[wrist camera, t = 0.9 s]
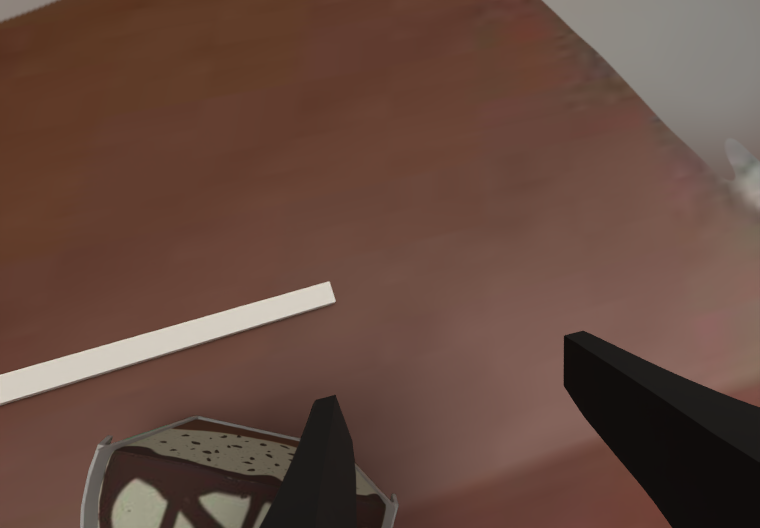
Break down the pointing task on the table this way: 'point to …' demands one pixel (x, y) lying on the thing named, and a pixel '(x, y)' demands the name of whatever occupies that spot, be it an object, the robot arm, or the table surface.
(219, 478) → the food container
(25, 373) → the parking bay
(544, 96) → the table surface
